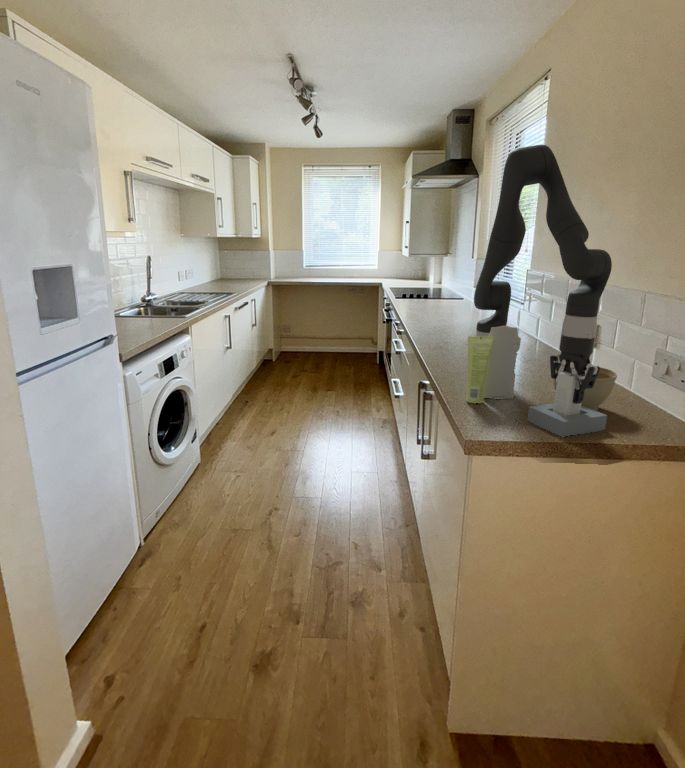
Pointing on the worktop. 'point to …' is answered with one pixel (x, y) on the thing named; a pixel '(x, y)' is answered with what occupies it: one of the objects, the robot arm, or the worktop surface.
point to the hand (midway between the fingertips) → (568, 399)
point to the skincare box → (566, 395)
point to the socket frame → (567, 420)
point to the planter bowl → (598, 389)
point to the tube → (477, 367)
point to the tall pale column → (502, 363)
